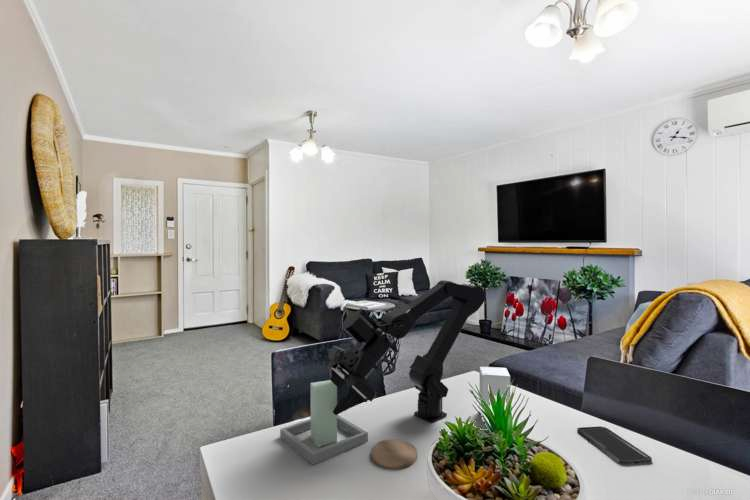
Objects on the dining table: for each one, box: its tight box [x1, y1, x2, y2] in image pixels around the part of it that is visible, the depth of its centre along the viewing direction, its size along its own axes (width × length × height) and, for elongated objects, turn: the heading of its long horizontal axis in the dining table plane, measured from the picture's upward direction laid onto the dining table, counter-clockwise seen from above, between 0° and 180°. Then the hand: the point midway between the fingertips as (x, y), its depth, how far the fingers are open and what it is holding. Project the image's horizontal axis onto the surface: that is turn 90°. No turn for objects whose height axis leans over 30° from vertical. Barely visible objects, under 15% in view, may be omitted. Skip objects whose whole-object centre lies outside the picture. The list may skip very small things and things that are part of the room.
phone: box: [576, 425, 653, 466], centre depth 87 cm, size 8×1×15 cm
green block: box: [309, 379, 338, 447], centre depth 90 cm, size 5×5×13 cm
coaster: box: [370, 438, 418, 470], centre depth 83 cm, size 10×10×1 cm
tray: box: [279, 414, 369, 465], centre depth 90 cm, size 15×15×2 cm
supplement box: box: [478, 366, 511, 423], centre depth 101 cm, size 7×7×13 cm
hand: (327, 406), depth 90 cm, fingers open, 9 cm apart
